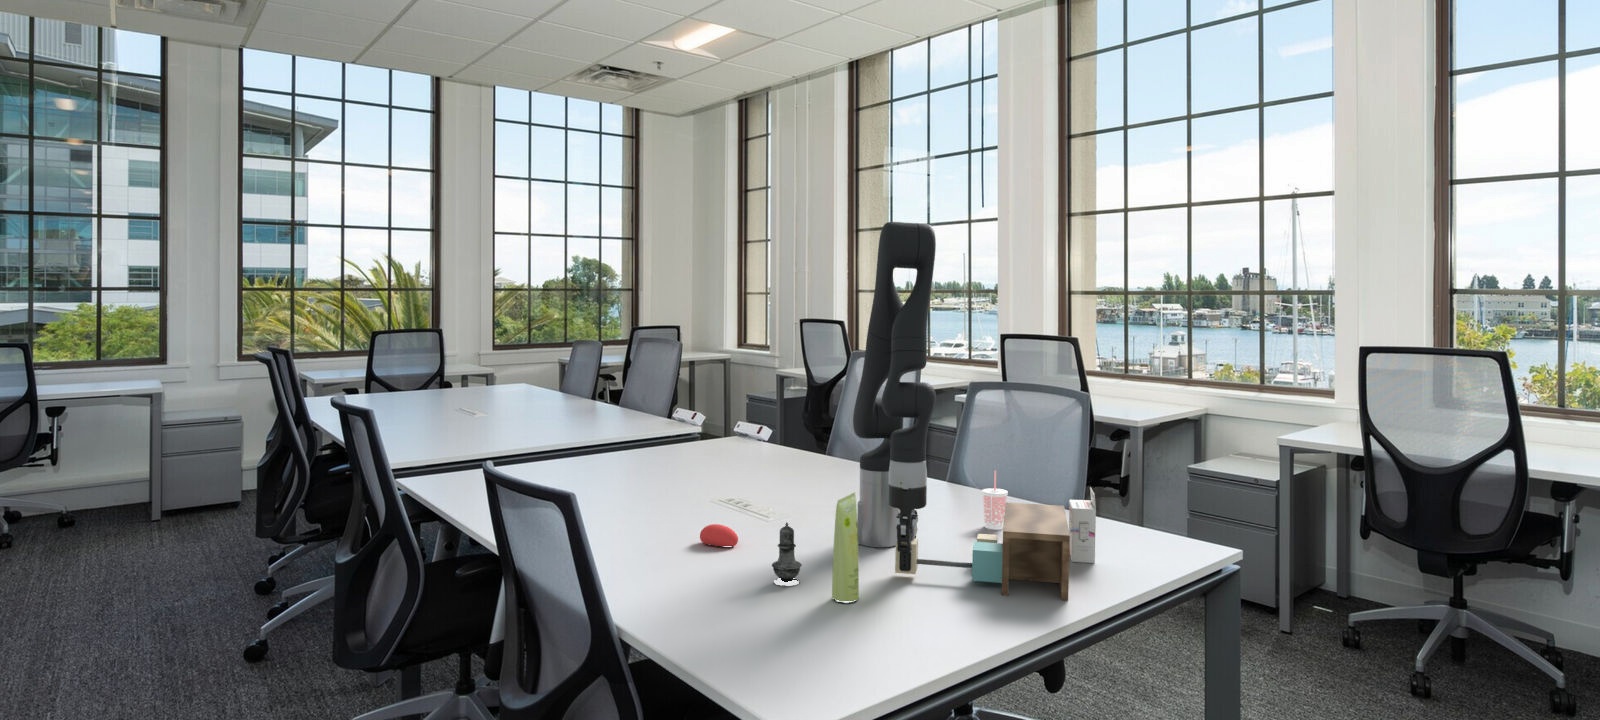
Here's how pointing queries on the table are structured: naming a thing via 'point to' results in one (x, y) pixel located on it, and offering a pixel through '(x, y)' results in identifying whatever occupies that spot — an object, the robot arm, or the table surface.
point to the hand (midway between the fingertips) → (906, 566)
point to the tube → (846, 551)
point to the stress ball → (718, 535)
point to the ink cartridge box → (1082, 529)
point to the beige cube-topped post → (987, 538)
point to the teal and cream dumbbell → (983, 562)
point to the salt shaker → (786, 556)
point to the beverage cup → (994, 506)
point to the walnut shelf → (1035, 545)
